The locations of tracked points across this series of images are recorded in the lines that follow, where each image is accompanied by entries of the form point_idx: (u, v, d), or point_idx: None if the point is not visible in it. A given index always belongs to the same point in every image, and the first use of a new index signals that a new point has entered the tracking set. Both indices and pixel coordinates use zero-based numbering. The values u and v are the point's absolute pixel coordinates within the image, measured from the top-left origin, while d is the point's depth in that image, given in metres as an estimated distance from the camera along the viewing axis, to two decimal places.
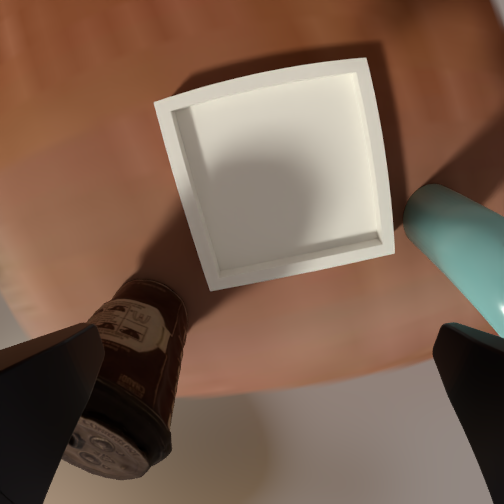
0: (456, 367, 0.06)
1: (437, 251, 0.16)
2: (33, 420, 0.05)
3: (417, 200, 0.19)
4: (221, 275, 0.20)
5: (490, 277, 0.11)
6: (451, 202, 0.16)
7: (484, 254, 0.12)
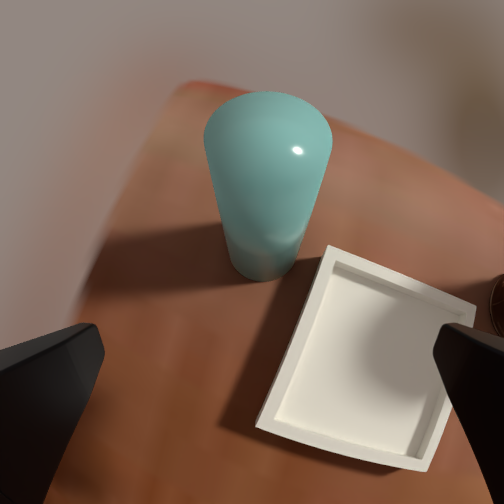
0: (456, 367, 0.06)
1: None
2: (32, 420, 0.05)
3: (276, 275, 0.21)
4: (463, 313, 0.19)
5: (309, 198, 0.13)
6: (259, 263, 0.18)
7: (294, 218, 0.14)
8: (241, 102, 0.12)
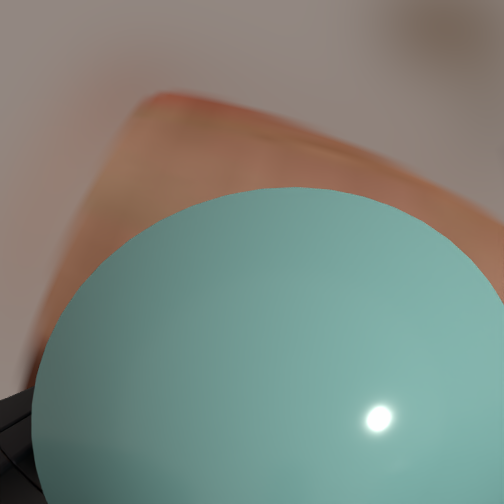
0: None
1: None
2: None
3: None
4: None
5: None
6: None
7: None
8: (171, 261, 0.03)
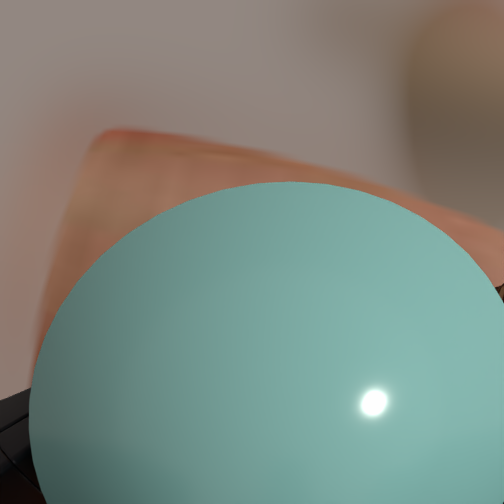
0: None
1: None
2: None
3: None
4: None
5: None
6: None
7: None
8: (169, 255, 0.03)
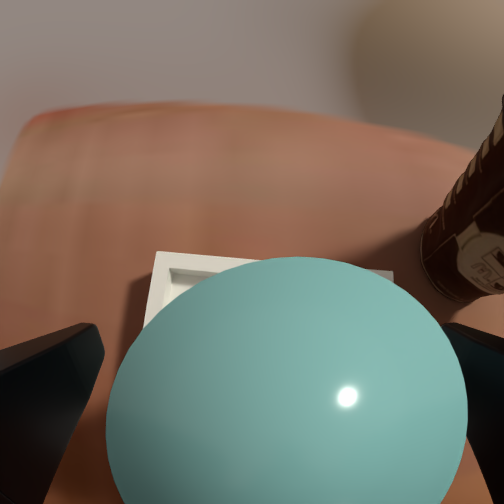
0: None
1: None
2: (32, 420, 0.05)
3: None
4: None
5: None
6: None
7: None
8: (212, 312, 0.04)
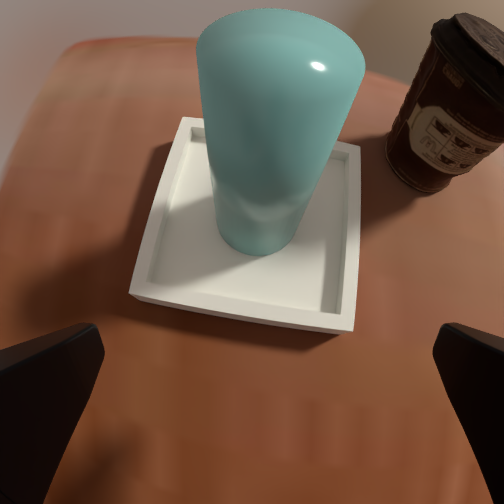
0: (456, 367, 0.06)
1: None
2: (33, 420, 0.05)
3: (271, 248, 0.17)
4: (345, 155, 0.20)
5: (329, 135, 0.09)
6: (252, 228, 0.15)
7: (306, 163, 0.10)
8: (249, 15, 0.08)
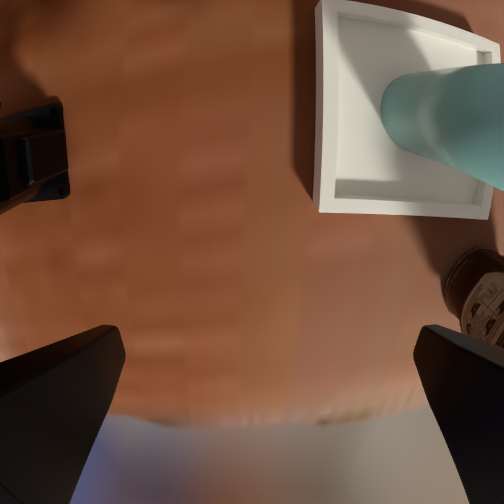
0: (435, 371, 0.06)
1: (448, 166, 0.12)
2: (57, 428, 0.05)
3: (390, 127, 0.15)
4: (479, 204, 0.17)
5: None
6: (410, 107, 0.12)
7: (479, 157, 0.08)
8: None
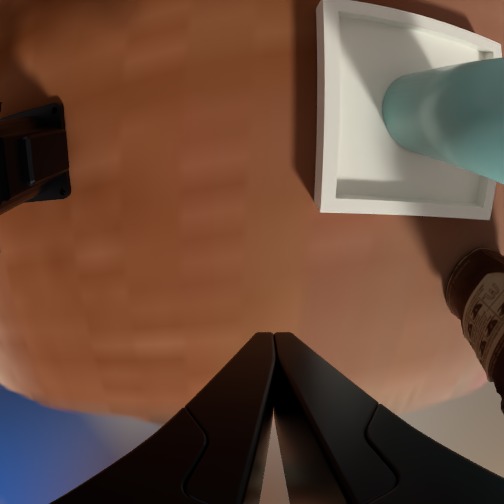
0: (274, 384, 0.06)
1: (450, 163, 0.12)
2: (263, 457, 0.04)
3: (391, 125, 0.15)
4: (481, 204, 0.17)
5: None
6: (411, 104, 0.12)
7: (483, 149, 0.08)
8: None
